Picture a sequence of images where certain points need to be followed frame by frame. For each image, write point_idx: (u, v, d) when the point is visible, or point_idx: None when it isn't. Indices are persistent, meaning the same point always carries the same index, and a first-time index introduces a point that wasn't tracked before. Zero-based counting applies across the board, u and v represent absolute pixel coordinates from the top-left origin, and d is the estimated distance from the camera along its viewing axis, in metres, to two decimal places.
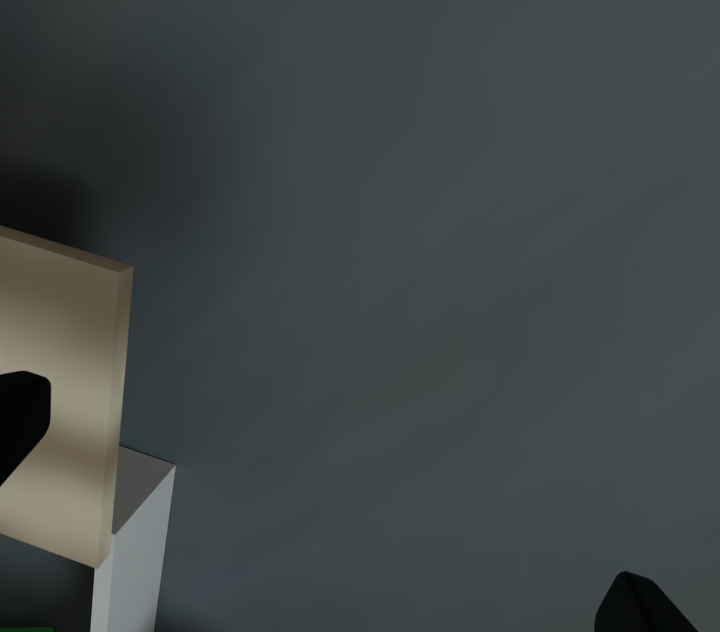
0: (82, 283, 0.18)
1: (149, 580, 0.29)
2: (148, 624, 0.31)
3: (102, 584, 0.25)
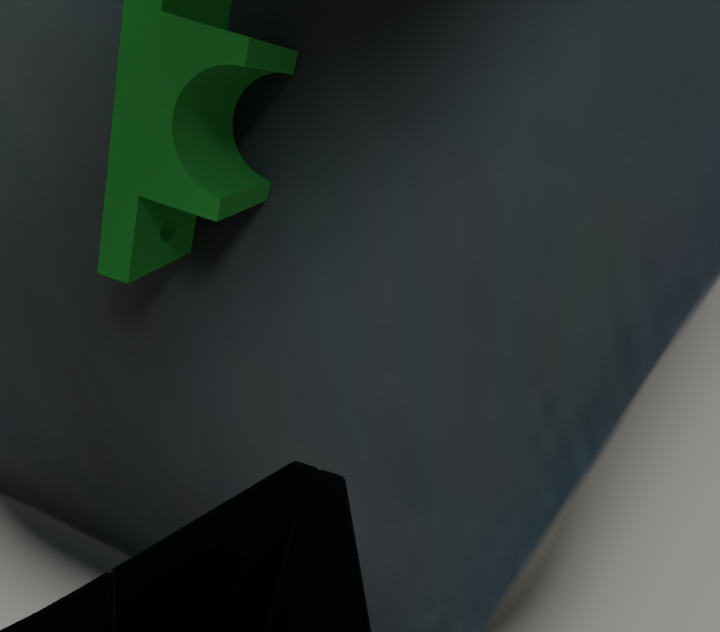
0: None
1: None
2: None
3: None
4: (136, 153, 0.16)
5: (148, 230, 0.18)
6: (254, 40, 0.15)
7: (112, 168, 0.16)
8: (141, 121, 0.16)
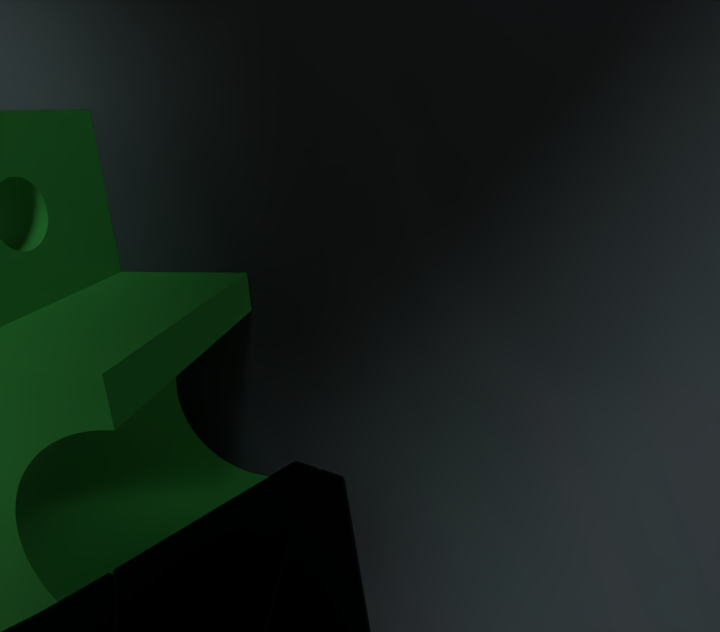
0: None
1: None
2: None
3: None
4: None
5: None
6: (121, 363, 0.06)
7: None
8: None
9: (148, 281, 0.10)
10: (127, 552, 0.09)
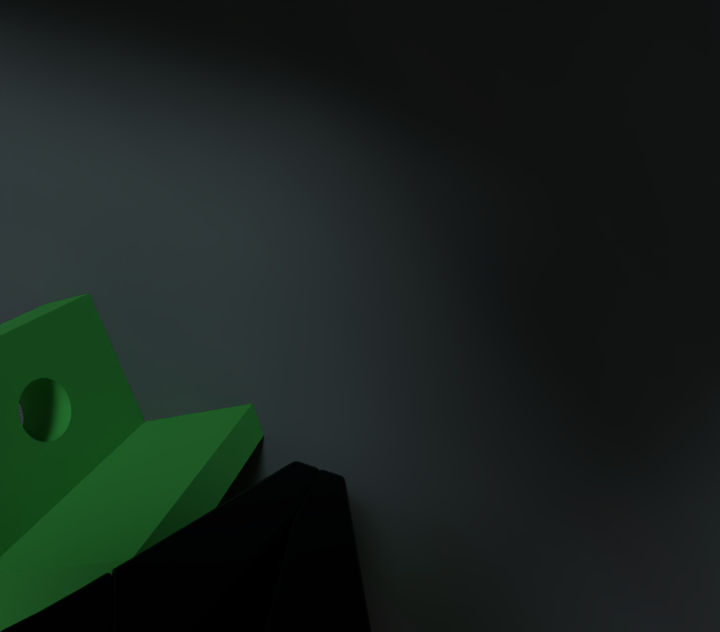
0: None
1: None
2: None
3: None
4: None
5: None
6: (147, 542, 0.07)
7: None
8: None
9: (168, 430, 0.11)
10: None
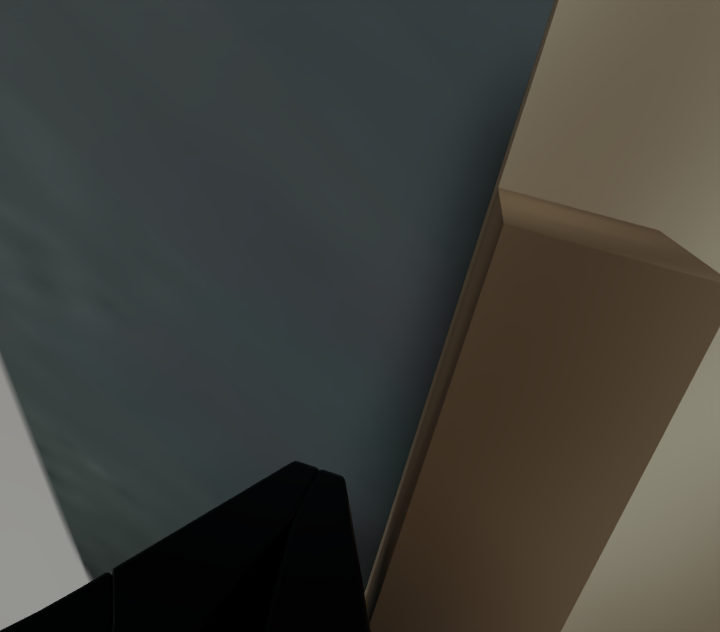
0: None
1: None
2: None
3: None
4: None
5: None
6: None
7: None
8: None
9: None
10: None
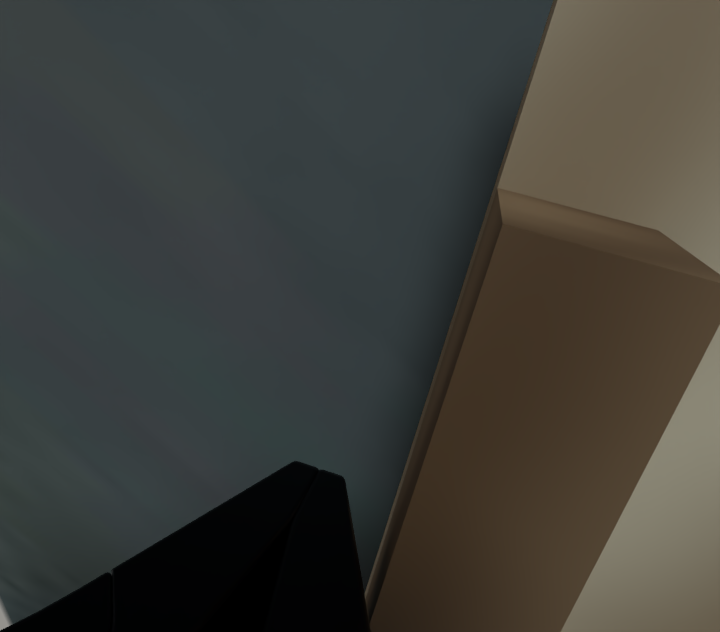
0: None
1: None
2: None
3: None
4: None
5: None
6: None
7: None
8: None
9: None
10: None
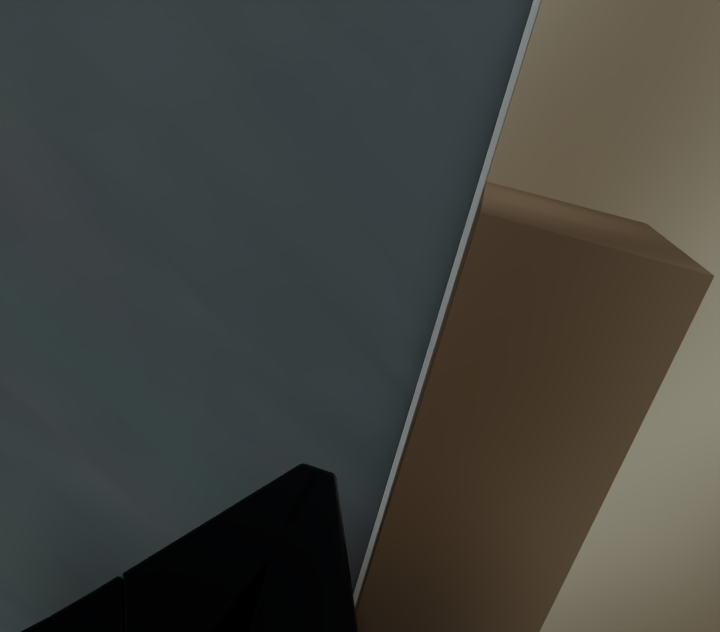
0: None
1: None
2: None
3: None
4: None
5: None
6: None
7: None
8: None
9: None
10: None
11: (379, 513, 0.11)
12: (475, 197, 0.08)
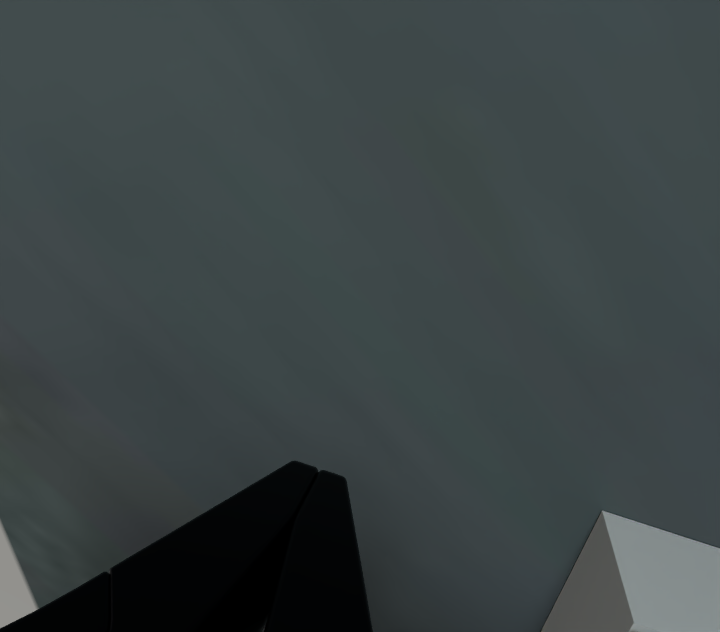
0: None
1: None
2: None
3: None
4: None
5: None
6: None
7: None
8: None
9: None
10: None
11: None
12: None
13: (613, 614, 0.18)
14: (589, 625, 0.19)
